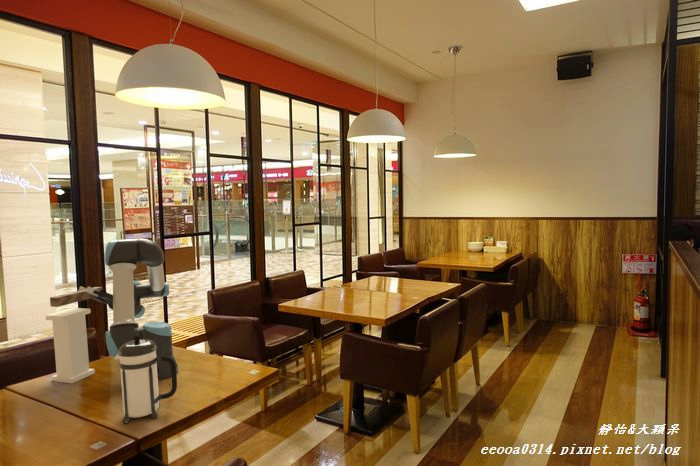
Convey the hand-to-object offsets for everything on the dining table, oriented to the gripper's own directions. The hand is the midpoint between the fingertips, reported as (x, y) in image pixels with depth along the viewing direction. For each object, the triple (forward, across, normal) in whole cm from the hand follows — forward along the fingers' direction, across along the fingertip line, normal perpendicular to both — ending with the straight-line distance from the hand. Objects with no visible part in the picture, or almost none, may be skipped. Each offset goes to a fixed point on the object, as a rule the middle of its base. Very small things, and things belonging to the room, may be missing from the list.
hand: (83, 289), depth 214 cm
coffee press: (+7, +60, +49) cm, 78 cm away
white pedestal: (-12, 0, +38) cm, 40 cm away
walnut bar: (+1, 0, +6) cm, 6 cm away
